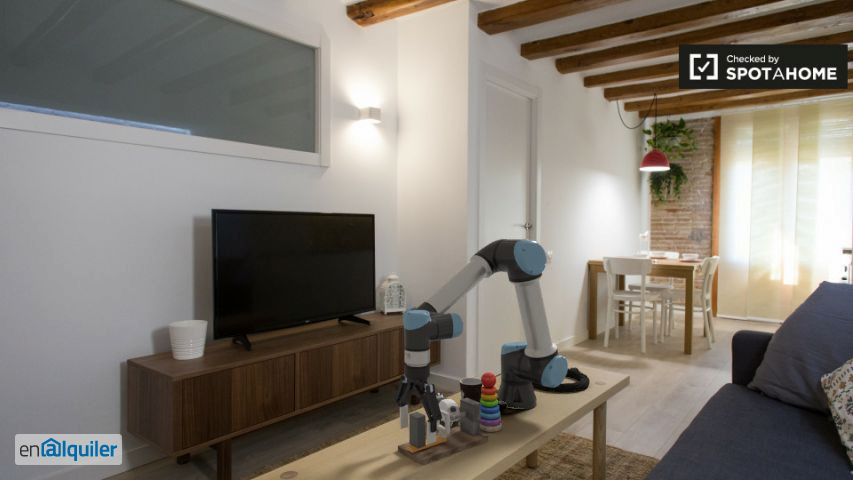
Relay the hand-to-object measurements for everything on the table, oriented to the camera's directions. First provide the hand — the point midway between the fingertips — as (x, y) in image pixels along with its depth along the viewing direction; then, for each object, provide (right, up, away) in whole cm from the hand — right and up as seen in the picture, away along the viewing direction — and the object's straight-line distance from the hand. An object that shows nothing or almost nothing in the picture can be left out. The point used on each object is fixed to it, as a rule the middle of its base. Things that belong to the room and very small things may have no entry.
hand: (417, 434), depth 151 cm
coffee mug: (+19, -5, +38) cm, 43 cm away
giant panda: (+9, -6, +25) cm, 27 cm away
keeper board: (+8, -6, +6) cm, 12 cm away
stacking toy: (+24, -6, +20) cm, 32 cm away
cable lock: (+60, -5, +70) cm, 92 cm away
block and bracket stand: (+3, -4, +2) cm, 5 cm away
